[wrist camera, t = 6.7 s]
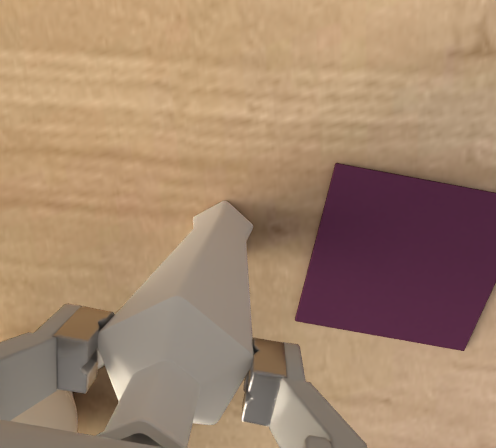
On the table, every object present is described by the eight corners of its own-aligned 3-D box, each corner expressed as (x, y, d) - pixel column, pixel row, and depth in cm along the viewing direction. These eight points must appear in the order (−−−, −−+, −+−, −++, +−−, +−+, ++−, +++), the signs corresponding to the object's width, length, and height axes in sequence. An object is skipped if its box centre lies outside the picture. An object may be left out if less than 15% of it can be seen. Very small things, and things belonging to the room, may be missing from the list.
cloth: (530, 199, 20) (533, 200, 20) (461, 348, 23) (464, 351, 23) (335, 162, 20) (336, 163, 19) (294, 318, 23) (295, 321, 23)
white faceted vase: (202, 183, 20) (60, 336, 6) (265, 213, 21) (272, 422, 7) (174, 245, 22) (7, 489, 7) (235, 272, 22) (186, 552, 8)
